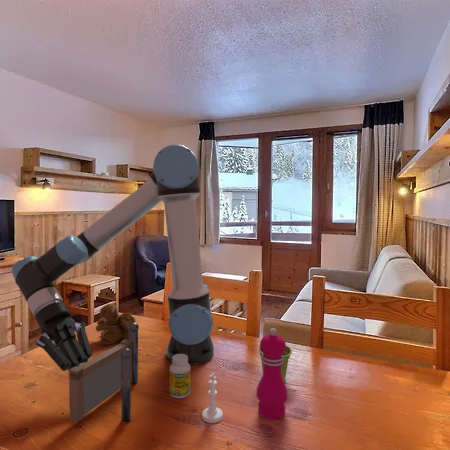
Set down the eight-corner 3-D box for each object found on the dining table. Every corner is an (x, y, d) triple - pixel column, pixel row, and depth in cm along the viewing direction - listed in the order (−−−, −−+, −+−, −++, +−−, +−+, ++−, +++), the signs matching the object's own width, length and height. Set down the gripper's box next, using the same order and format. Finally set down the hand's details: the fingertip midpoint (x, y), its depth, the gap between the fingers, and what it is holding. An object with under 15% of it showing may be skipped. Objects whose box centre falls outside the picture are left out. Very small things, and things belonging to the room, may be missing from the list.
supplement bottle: (186, 386, 91) (187, 351, 90) (193, 396, 86) (193, 359, 85) (167, 390, 88) (167, 354, 88) (172, 401, 84) (172, 363, 83)
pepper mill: (286, 423, 76) (288, 335, 75) (254, 418, 77) (256, 332, 76) (287, 404, 83) (289, 324, 82) (257, 401, 84) (259, 322, 83)
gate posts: (144, 379, 94) (144, 320, 93) (130, 423, 75) (130, 349, 74) (129, 379, 94) (129, 320, 93) (111, 423, 74) (110, 350, 74)
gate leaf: (125, 380, 91) (125, 339, 90) (132, 381, 90) (132, 340, 89) (69, 419, 74) (69, 369, 73) (77, 422, 73) (76, 371, 72)
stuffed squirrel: (100, 334, 126) (99, 300, 125) (138, 333, 128) (138, 299, 127) (92, 345, 116) (92, 308, 115) (134, 344, 118) (134, 307, 117)
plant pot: (294, 375, 97) (295, 345, 97) (286, 391, 89) (287, 359, 88) (263, 368, 101) (264, 340, 101) (252, 383, 93) (253, 352, 92)
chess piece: (215, 425, 74) (215, 381, 74) (197, 418, 77) (197, 375, 76) (227, 414, 79) (227, 372, 78) (209, 407, 81) (210, 366, 81)
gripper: (65, 311, 95) (106, 384, 88) (17, 324, 84) (60, 410, 77) (77, 295, 93) (121, 370, 85) (30, 306, 81) (76, 394, 74)
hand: (92, 389), depth 81 cm, fingers closed
